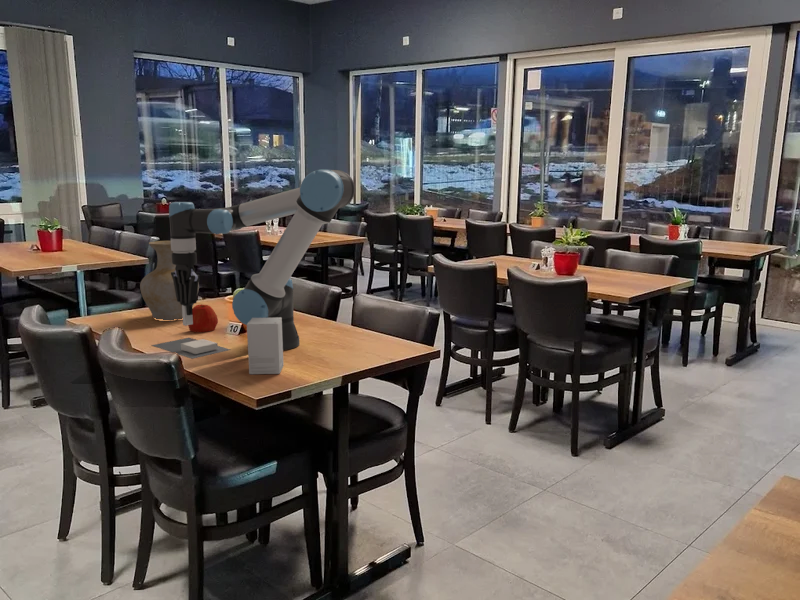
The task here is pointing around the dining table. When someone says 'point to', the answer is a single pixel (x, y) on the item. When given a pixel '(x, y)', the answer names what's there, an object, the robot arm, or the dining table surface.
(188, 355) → the slate board
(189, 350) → the tile
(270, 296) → the robot arm
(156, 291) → the vase
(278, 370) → the supplement box
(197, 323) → the apple
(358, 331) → the dining table surface
